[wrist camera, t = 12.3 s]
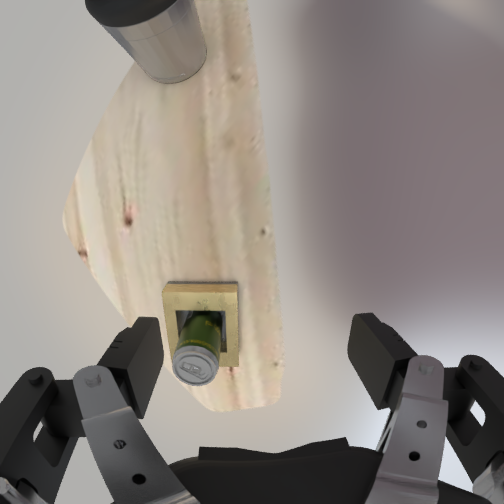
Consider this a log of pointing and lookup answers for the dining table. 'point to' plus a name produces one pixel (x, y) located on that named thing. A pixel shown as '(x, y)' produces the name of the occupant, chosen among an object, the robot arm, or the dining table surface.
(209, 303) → the socket block
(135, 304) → the dining table surface
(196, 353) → the beer can
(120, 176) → the dining table surface
